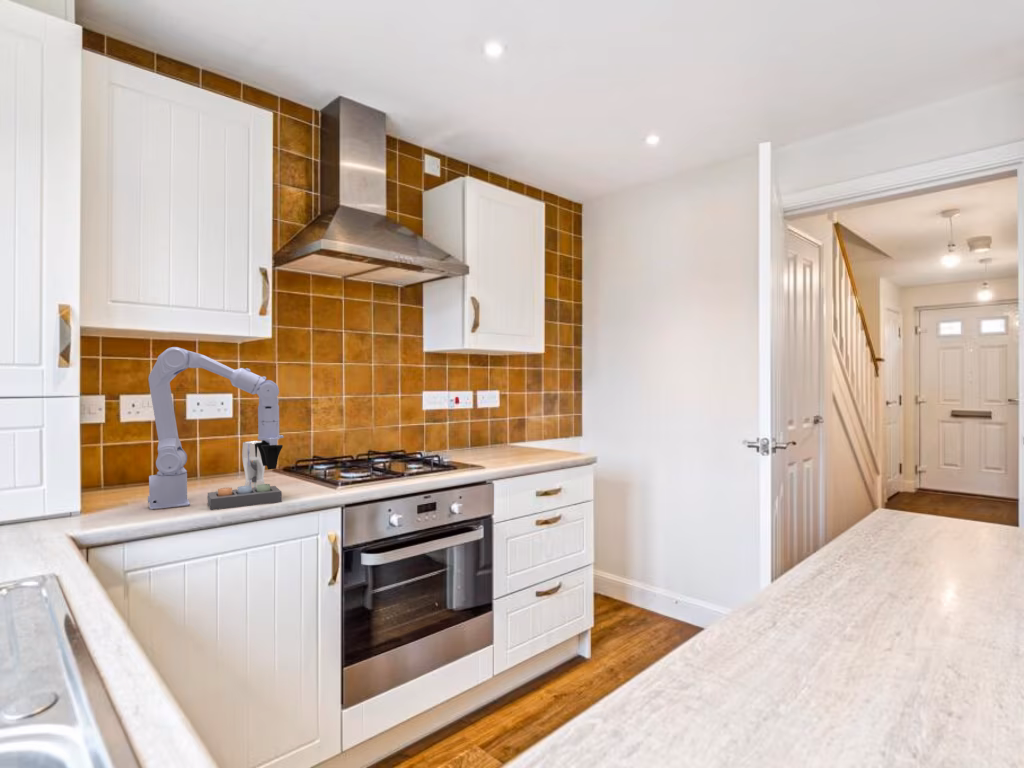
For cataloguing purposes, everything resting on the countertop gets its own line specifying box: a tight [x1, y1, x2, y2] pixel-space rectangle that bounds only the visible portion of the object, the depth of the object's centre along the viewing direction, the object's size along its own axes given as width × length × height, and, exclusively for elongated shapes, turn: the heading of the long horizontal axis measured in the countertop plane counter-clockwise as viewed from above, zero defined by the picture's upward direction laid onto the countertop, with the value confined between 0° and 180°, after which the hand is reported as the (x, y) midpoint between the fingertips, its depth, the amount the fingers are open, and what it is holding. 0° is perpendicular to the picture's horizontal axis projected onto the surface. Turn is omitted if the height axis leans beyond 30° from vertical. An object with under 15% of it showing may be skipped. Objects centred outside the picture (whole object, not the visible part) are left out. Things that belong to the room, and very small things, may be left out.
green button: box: [257, 483, 271, 492], centre depth 168 cm, size 4×4×3 cm
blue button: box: [237, 485, 252, 494], centre depth 166 cm, size 4×4×3 cm
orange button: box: [217, 487, 233, 496], centre depth 163 cm, size 4×4×3 cm
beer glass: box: [241, 440, 266, 488], centre depth 186 cm, size 7×7×15 cm
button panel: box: [207, 485, 283, 511], centre depth 166 cm, size 18×10×3 cm, turn 122°
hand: (269, 467), depth 172 cm, fingers open, 7 cm apart
